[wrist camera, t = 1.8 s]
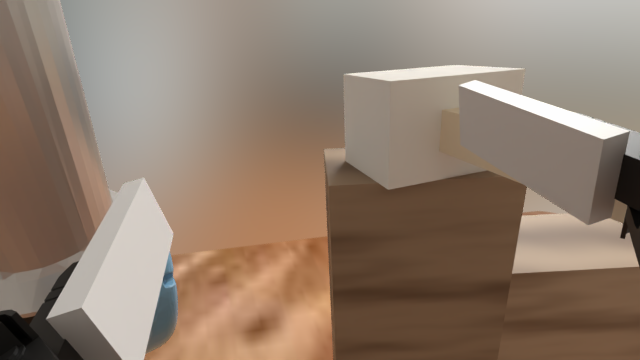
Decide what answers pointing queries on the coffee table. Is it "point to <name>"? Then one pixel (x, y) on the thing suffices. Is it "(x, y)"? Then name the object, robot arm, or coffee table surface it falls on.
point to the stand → (472, 274)
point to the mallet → (418, 124)
